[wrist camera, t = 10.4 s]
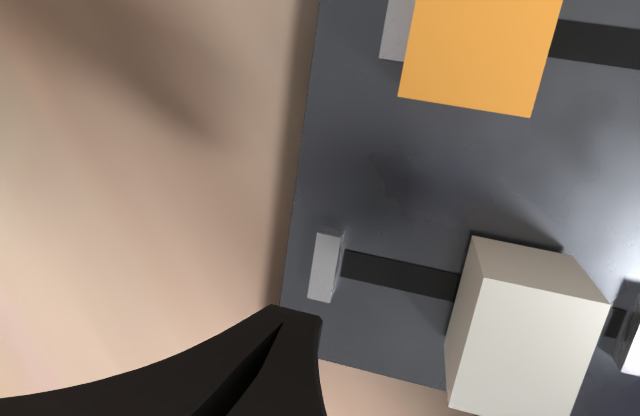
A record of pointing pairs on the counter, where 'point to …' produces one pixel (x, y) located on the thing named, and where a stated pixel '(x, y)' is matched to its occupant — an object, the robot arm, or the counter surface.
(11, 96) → the counter surface
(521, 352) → the fader
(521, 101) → the fader
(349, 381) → the counter surface
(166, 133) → the counter surface
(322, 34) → the mixer panel
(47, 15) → the counter surface
